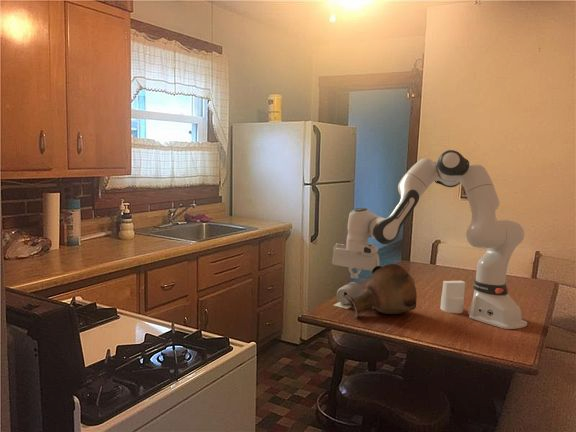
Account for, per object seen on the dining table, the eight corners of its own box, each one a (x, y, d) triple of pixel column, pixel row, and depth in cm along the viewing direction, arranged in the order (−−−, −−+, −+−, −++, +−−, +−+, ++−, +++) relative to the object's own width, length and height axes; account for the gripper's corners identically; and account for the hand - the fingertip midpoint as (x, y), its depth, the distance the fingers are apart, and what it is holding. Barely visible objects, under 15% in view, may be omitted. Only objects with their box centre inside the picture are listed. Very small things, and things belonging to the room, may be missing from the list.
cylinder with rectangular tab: (448, 313, 204) (451, 285, 202) (436, 306, 212) (438, 279, 211) (467, 312, 206) (470, 284, 205) (454, 306, 215) (457, 278, 213)
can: (365, 296, 214) (354, 302, 204) (350, 300, 218) (338, 307, 207) (359, 279, 215) (347, 285, 204) (344, 284, 218) (332, 290, 208)
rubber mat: (345, 299, 216) (345, 298, 216) (359, 302, 213) (359, 301, 213) (333, 306, 206) (333, 305, 206) (347, 309, 203) (347, 308, 203)
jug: (405, 304, 213) (342, 321, 203) (397, 259, 213) (333, 273, 203) (433, 310, 193) (364, 329, 184) (424, 260, 193) (355, 276, 184)
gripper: (331, 244, 215) (328, 275, 217) (377, 250, 206) (374, 283, 207) (336, 241, 220) (334, 272, 222) (381, 248, 211) (379, 280, 213)
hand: (354, 277), depth 215 cm, fingers closed
